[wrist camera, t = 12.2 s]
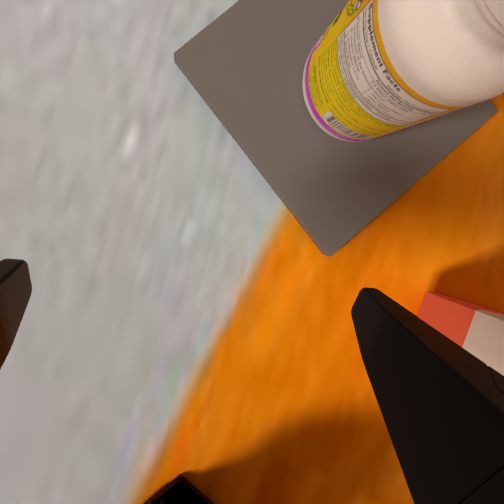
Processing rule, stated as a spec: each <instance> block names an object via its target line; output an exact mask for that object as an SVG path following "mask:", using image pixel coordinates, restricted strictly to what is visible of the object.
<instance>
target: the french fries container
mask: <svg viewBox="0 0 504 504" xmlns="http://www.w3.org/2000/svg"><path fill="white" fill-rule="evenodd" d="M417 317H419V318H420V319H421V320H423V321H424V322H426V323H427V324H429V325H430V326H432V327H433V328H435V329H436V330H437V331H439V332H440V333H442V334H443V335H445V336H446V337H448V338H449V339H451V340H452V341H453V342H455V343H456V344H458V345H459V346H461V347H462V348H464V349H465V350H467V351H468V352H469V353H471V354H472V355H474V356H475V357H477V358H478V359H480V360H481V361H483V362H484V363H486V364H487V366H490V367H491V368H493V369H494V370H496V371H497V372H499V373H500V374H502V375H503V376H504V313H503V312H500V311H497V310H494V309H491V308H487V307H484V306H480V305H477V304H473V303H470V302H466V301H463V300H460V299H456V298H453V297H449V296H446V295H442V294H439V293H435V292H426V293H425V296H424V299H423V302H422V305H421V308H420V311H419V313H418V316H417Z"/></svg>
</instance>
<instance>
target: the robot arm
mask: <svg viewBox="0 0 504 504" xmlns="http://www.w3.org/2000/svg"><path fill="white" fill-rule="evenodd" d="M31 292H32V285H31V280H30V274H29V269H28V264H27V262H26V261H24V260H19V259H4V260H2V261H0V369H1V367H2V365H3V363H4V361H5V359H6V357H7V355H8V353H9V351H10V349H11V346H12V344H13V342H14V339H15V336H16V334H17V331H18V328H19V326H20V323H21V320H22V318H23V315H24V312H25V310H26V307H27V304H28V302H29V299H30V296H31ZM351 315H352V319H353V324H354V328H355V332H356V336H357V340H358V344H359V348H360V352H361V356H362V359H363V362H364V365H365V368H366V371H367V374H368V377H369V379H370V382H371V385H372V388H373V391H374V393H375V396H376V399H377V402H378V404H379V407H380V410H381V413H382V415H383V418H384V421H385V424H386V426H387V429H388V432H389V435H390V438H391V440H392V443H393V446H394V449H395V451H396V454H397V457H398V460H399V462H400V465H401V468H402V471H403V473H404V476H405V479H406V482H407V485H408V487H409V490H410V493H411V496H412V498H413V501H414V504H504V376H503V375H502V374H500V373H499V372H497V371H496V370H494V369H493V368H491V367H490V366H487V364H486V363H484V362H483V361H481V360H480V359H478V358H477V357H475V356H474V355H472V354H471V353H469V352H468V351H467V350H465V349H464V348H462V347H461V346H459V345H458V344H456V343H455V342H453V341H452V340H451V339H449V338H448V337H446V336H445V335H443V334H442V333H440V332H439V331H437V330H436V329H435V328H433V327H432V326H430V325H429V324H427V323H426V322H424V321H423V320H421V319H420V318H419V317H417V316H416V315H414V314H413V313H411V312H410V311H408V310H407V309H405V308H404V307H402V306H401V305H400V304H398V303H397V302H395V301H394V300H392V299H391V298H389V297H388V296H386V295H385V294H384V293H382V292H381V291H379V290H378V289H375V288H362V289H361V290H360V292H359V294H358V296H357V298H356V300H355V302H354V305H353V307H352V310H351ZM178 485H182V486H181V487H178ZM145 504H213V503H212V502H211V501H210V500H209V499H208V498H207V497H206V496H204V495H203V494H202V493H201V492H200V491H199V490H198V489H197V488H195V487H194V486H193V485H192V484H191V483H190V482H189V481H188V480H186V479H185V478H184V477H177V478H176V479H174V480H173V481H172V482H171V483H170V484H169V485H168V486H166V487H165V488H164V489H163V490H162V491H161V492H160V493H158V494H157V495H156V496H155V497H154V498H151V499H150V500H149V501H148V502H147V503H145Z"/></svg>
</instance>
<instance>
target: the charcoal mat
mask: <svg viewBox="0 0 504 504" xmlns="http://www.w3.org/2000/svg"><path fill="white" fill-rule="evenodd" d="M348 2H349V0H239V1H238V2H237V3H235V4H234V5H233V6H232V7H230V8H229V9H228V10H227V11H225V12H224V13H223V14H222V15H221V16H219V17H218V18H217V19H216V20H214V21H213V22H212V23H211V24H209V25H208V26H207V27H206V28H204V29H203V30H202V31H201V32H199V33H198V34H197V35H196V36H194V37H193V38H192V39H191V40H189V41H188V42H187V43H186V44H184V45H183V46H182V47H181V48H180V49H178V50H177V51H176V52H175V53H174V61H175V63H176V64H177V66H178V67H179V68H180V70H181V71H182V72H183V73H184V75H185V76H186V77H187V79H188V80H189V81H190V82H191V84H192V85H193V86H194V88H195V89H196V90H197V92H198V93H199V94H200V95H201V97H202V98H203V99H204V101H205V102H206V103H207V104H208V106H209V107H210V108H211V110H212V111H213V112H214V114H215V115H216V116H217V117H218V119H219V120H220V121H221V123H222V124H223V125H224V126H225V128H226V129H227V130H228V132H229V133H230V134H231V136H232V137H233V138H234V139H235V141H236V142H237V143H238V145H239V146H240V147H241V148H242V150H243V151H244V152H245V154H246V155H247V156H248V158H249V159H250V160H251V161H252V163H253V164H254V165H255V167H256V168H257V169H258V170H259V172H260V173H261V174H262V176H263V177H264V178H265V180H266V181H267V182H268V183H269V185H270V186H271V187H272V189H273V190H274V191H275V192H276V194H277V195H278V196H279V198H280V199H281V200H282V202H283V203H284V204H285V205H286V207H287V208H288V209H289V211H290V212H291V213H292V214H293V216H294V217H295V218H296V220H297V221H298V222H299V224H300V225H301V226H302V227H303V229H304V230H305V231H306V233H307V234H308V235H309V236H310V238H311V239H312V240H313V242H314V243H315V244H316V246H317V247H318V248H319V249H320V251H321V252H322V253H323V254H324V255H327V256H332V255H333V254H334V253H335V252H336V251H337V250H339V249H340V248H341V247H342V246H343V245H344V244H345V243H347V242H348V241H349V240H350V239H351V238H352V237H354V236H355V235H356V234H357V233H358V232H359V231H360V230H362V229H363V228H364V227H365V226H366V225H367V224H368V223H370V222H371V221H372V220H373V219H374V218H375V217H377V216H378V215H379V214H380V213H381V212H382V211H383V210H385V209H386V208H387V207H388V206H389V205H390V204H391V203H393V202H394V201H395V200H396V199H397V198H398V197H400V196H401V195H402V194H403V193H404V192H405V191H406V190H408V189H409V188H410V187H411V186H412V185H413V184H414V183H416V182H417V181H418V180H419V179H420V178H421V177H423V176H424V175H425V174H426V173H427V172H428V171H429V170H431V169H432V168H433V167H434V166H435V165H436V164H438V163H439V162H440V161H441V160H442V159H443V158H444V157H446V156H447V155H448V154H449V153H450V152H451V151H452V150H454V149H455V148H456V147H457V146H458V145H459V144H461V143H462V142H463V141H464V140H465V139H466V138H467V137H469V136H470V135H471V134H472V133H473V132H474V131H475V130H477V129H478V128H479V127H480V126H481V125H482V124H484V123H485V122H486V121H487V120H488V119H489V118H490V117H492V116H493V115H494V114H495V113H496V112H497V110H496V108H495V106H494V104H493V102H492V101H491V99H489V100H486V101H483V102H480V103H477V104H474V105H471V106H468V107H465V108H462V109H459V110H456V111H453V112H450V113H447V114H444V115H441V116H438V117H435V118H432V119H430V120H427V121H424V122H421V123H418V124H415V125H412V126H409V127H406V128H404V129H401V130H398V131H395V132H392V133H389V134H386V135H383V136H380V137H377V138H374V139H371V140H368V141H363V142H347V141H342V140H339V139H336V138H334V137H332V136H330V135H329V134H327V133H326V132H324V131H323V130H322V129H321V128H320V127H319V126H318V125H317V124H316V122H315V121H314V120H313V118H312V117H311V115H310V113H309V111H308V108H307V106H306V103H305V100H304V96H303V87H302V80H303V72H304V67H305V64H306V61H307V58H308V56H309V54H310V52H311V50H312V48H313V47H314V45H315V44H316V42H317V41H318V40H319V38H320V37H321V36H322V34H323V33H324V32H325V31H326V29H327V28H328V27H329V25H330V24H331V23H332V22H333V20H334V19H335V18H336V17H337V15H338V14H339V13H340V12H341V10H342V9H343V8H344V6H345V5H346V4H347V3H348Z"/></svg>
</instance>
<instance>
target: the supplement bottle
mask: <svg viewBox="0 0 504 504" xmlns="http://www.w3.org/2000/svg"><path fill="white" fill-rule="evenodd" d="M302 87H303V96H304V100H305V103H306V106H307V108H308V111H309V113H310V115H311V117H312V118H313V120H314V121H315V122H316V124H317V125H318V126H319V127H320V128H321V129H322V130H323V131H324V132H326V133H327V134H329V135H330V136H332V137H334V138H336V139H339V140H342V141H347V142H363V141H368V140H371V139H374V138H377V137H380V136H383V135H386V134H389V133H392V132H395V131H398V130H401V129H404V128H406V127H409V126H412V125H415V124H418V123H421V122H424V121H427V120H430V119H432V118H435V117H438V116H441V115H444V114H447V113H450V112H453V111H456V110H459V109H462V108H465V107H468V106H471V105H474V104H477V103H480V102H483V101H486V100H489V99H491V98H494V97H497V96H499V95H501V94H503V93H504V0H349V2H348V3H347V4H346V5H345V6H344V8H343V9H342V10H341V12H340V13H339V14H338V15H337V17H336V18H335V19H334V20H333V22H332V23H331V24H330V25H329V27H328V28H327V29H326V31H325V32H324V33H323V34H322V36H321V37H320V38H319V40H318V41H317V42H316V44H315V45H314V47H313V48H312V50H311V52H310V54H309V56H308V58H307V61H306V64H305V67H304V72H303V80H302Z"/></svg>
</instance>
